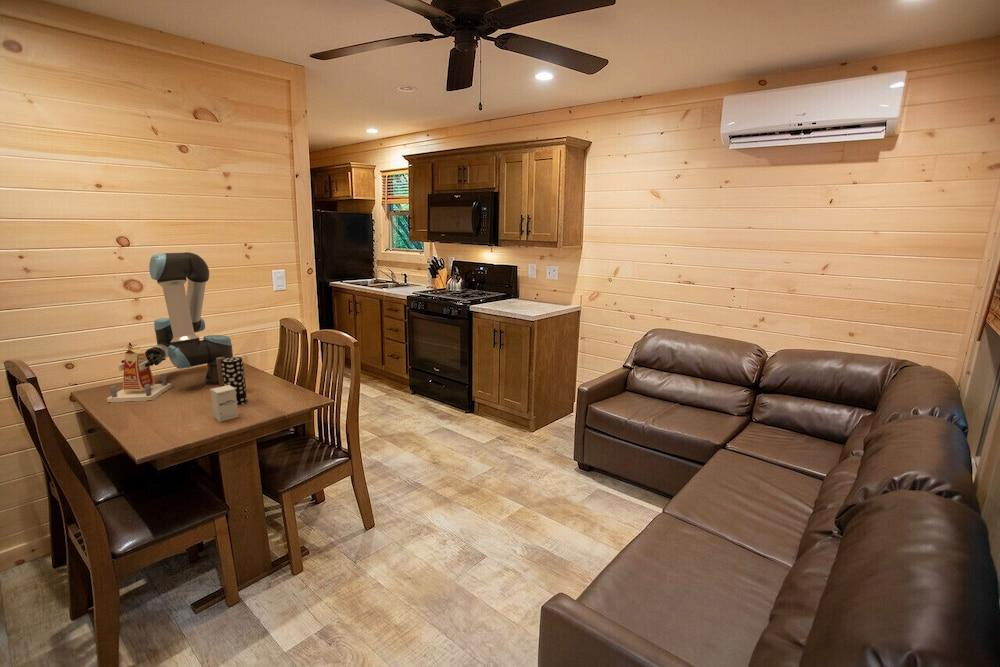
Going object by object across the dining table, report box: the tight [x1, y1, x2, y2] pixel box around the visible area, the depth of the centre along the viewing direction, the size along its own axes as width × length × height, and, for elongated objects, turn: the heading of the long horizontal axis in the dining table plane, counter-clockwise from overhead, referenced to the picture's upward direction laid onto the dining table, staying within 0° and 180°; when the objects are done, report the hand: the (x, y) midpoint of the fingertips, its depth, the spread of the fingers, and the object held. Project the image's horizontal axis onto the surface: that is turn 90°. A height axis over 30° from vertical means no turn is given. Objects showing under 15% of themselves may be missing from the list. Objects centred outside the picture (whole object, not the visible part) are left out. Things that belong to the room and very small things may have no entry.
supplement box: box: [209, 385, 239, 423], centre depth 200 cm, size 7×7×13 cm
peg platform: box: [106, 373, 173, 403], centre depth 225 cm, size 18×18×7 cm
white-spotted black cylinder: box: [220, 356, 248, 406], centre depth 215 cm, size 8×8×20 cm
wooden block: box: [216, 357, 247, 389], centre depth 227 cm, size 4×11×18 cm, turn 134°
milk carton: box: [122, 346, 156, 391], centre depth 223 cm, size 9×9×20 cm
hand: (130, 367), depth 218 cm, fingers closed on milk carton, 8 cm apart
